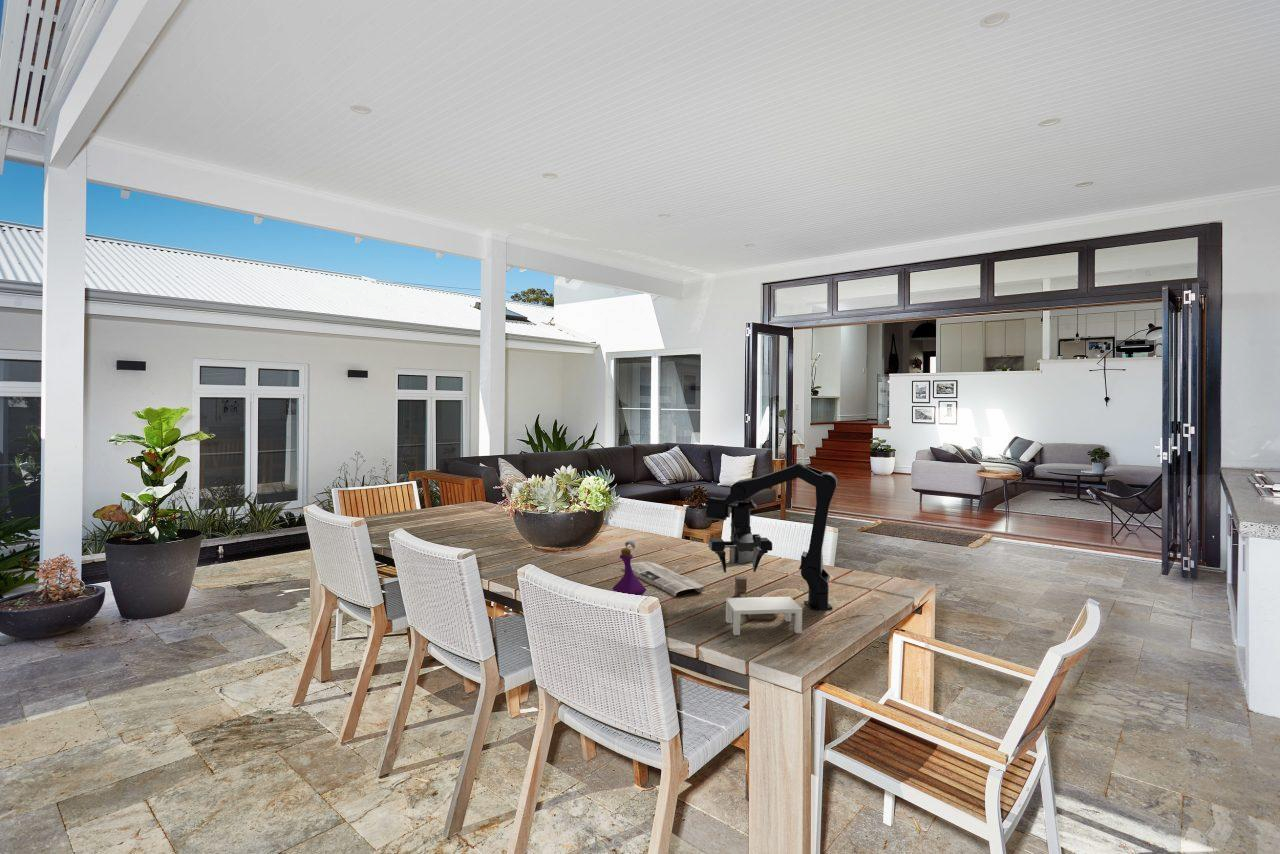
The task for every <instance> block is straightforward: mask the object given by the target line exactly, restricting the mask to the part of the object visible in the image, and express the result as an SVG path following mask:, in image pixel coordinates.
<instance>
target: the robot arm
mask: <svg viewBox="0 0 1280 854" xmlns="http://www.w3.org/2000/svg"><path fill="white" fill-rule="evenodd" d="M795 479H800V480H802V481H804V482H806V483H807V484H809V485H811V486H813V487H815V501H816V503H815V504H816V505H815V510H814V517H813V521H812V522H813V523H812V527H811V528H812V529H811V533H810V534H811V535H810V540H809V547H808V549H807V551H804V550H803V552H802V554H801V556H800V565H799V567H798V570H800V574H801V577H802V579H803V580H804V581H806V584H807V586H808V591H807V592H808V593H807V594H808V595H807V596H808V597H807V600H804V601H803V603H804V604H805V605H806V606H807V607H808V608H809V609H810V610H833V606H832V605H831V604H830V603H829V592H830V591H829V589H830V586H829V582H830V579H831V575H830V574H829V573H828V572H827V571H826V570H825V569H824V567H823V566H824V564H823V563H824V561H823V560H824V559H823V546H824V541H825V534H826V528H827V523H828V516H829V511H830V505H831V502H832V499H833V496H834V494H835V491H836V489H837V486H838V477H837V475H835V474H834V473H833V472H831V471H821V470H819V469H816V468H813V467H811V466H808V465H806V464H804V463H803V462H797V463H795V464H793V465H791V466H787V467H785V468H782V469H779V470H777V471H774V472H771V473H769V474H768V473H767V474H765V475H763V476H759V477H751V478H744V479H739V480H738V481H736V482H734V483H733V484H732V485H731V486H730V490H729V491H730V493H729V494H728V495H727V496H726V497H725V498H718V497H714V496H710V497H708V500H707V506H706V509H705V517H706V519H707V520H715V521H727V518H731V519H730V538H729V539H730V540H729V541H728V540H727V541H724V540H723V539H722V538H721V537H714V538H713V537H712V538H710V539H708V543H707V544H708V546H707V547H708V548H709V549H710V551H711V552H714V553H715V554H716V555H717V556H718V558H719V560H720V561H719V562H720V564H721V567H722V570H723V573H727V562H726V554H727V553H726V551H725V550H726V548H727V549H730V548H733V547H737V549H738V551H740V552H743V551H750V552H752V551H754V556H753V561H752V571H753V573H756V571H757V569H758V567H759V564H760V561H761V559H762V557H763V556H764V555H765V554H768V553H769V551H770V552H771V551H773V542H772V541H771V540H770V539H769V538H767V537H762V536H761V534H759V533H754V534H752V527H751V509H752V510H753V509H756V508H757V507H758V504H756V503H755V502H754V500H753V499H750V500H749V501H746V500H748V499H749V498H751V497H752V496H754V495H756V494H758V493H760V492H761V491H763V490H765V489H769V488H771V487H774V486H777V485H779V484H783V483H785V482H789V481H792V480H795ZM736 501H737V502H738V503H735V502H736ZM734 544H736V545H734Z"/></svg>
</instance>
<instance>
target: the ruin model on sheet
mask: <svg viewBox="0 0 1280 854" xmlns="http://www.w3.org/2000/svg"><path fill="white" fill-rule="evenodd" d="M734 545H736V544H734ZM753 556H754V551H752V552H750V551H743V552H740V551H738V549H737V547H733V548H729V563H731V564H733V565H734V564H735V562H737V563H738V564H740V563H741V564H742V563H747V562H753Z"/></svg>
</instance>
